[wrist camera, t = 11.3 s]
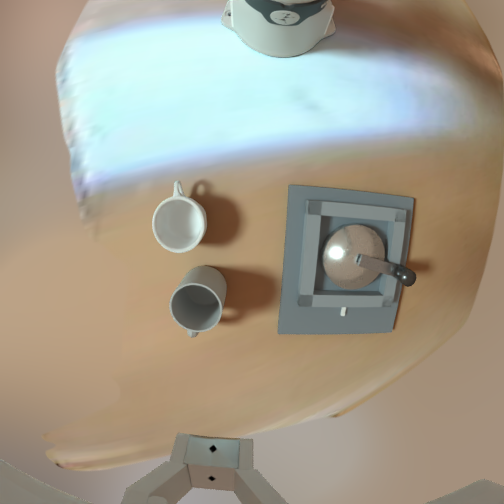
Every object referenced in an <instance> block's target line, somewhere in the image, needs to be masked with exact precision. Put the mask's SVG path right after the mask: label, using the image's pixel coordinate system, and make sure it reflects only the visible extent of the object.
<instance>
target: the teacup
mask: <svg viewBox="0 0 504 504" xmlns="http://www.w3.org/2000/svg"><path fill="white" fill-rule="evenodd" d="M152 227H153V232H154V235H155V237H156V239H157V241H158V242H159V243H160V244H161V245H162V246H163V247H164V248H165V249H167V250H169V251H172V252H176V253H183V252H187V251H189V250H191V249H193V248H194V247H195V246H197V245H198V244H199V242H200V241H201V240H202V238H203V237H204V235H205V232H206V229H207V218H206V212H205V210H204V208H203V207H202V206H201V205H200V204H198V203H197V202H196V201H195V200H194V199H192V198H189V197H186V196H185V195H184V193H183V190H182V186H181V182H180V181H175V184H174V195H173V197H170V198H167V199H166V200H164V201H163V202H161V203H160V204H159V206H158V207H157V208H156V210H155V212H154V215H153V220H152Z"/></svg>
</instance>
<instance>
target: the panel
mask: <svg viewBox="0 0 504 504" xmlns="http://www.w3.org/2000/svg"><path fill="white" fill-rule="evenodd" d="M413 202H414V198H409V197H402V196H395V195H387V194H379V193H371V192H363V191H354V190H344V189H334V188H323V187H312V186H299V185H289V189H288V206H287V221H286V236H285V250H284V263H283V275H282V288H281V299H280V310H279V321H278V334H364V333H387V332H392V329H393V325H394V320H395V316H396V312H397V307H398V303H399V298H400V293H401V288H402V283H401V282H400V281H398V280H397V279H395V278H394V277H393V276H390V275H386V274H383V273H379V274H378V276H377V277H376V278H375V279H374V280H373V281H372V282H371V283H370V284H368V285H367V286H365V287H362V288H359V289H344V288H341V287H339V286H337V285H336V284H334V283H333V282H332V281H331V280H330V278H329V277H328V276H327V275H326V273H325V271H324V269H323V267H322V263H321V250H322V246H323V244H324V242H325V240H326V238H327V237H328V235H329V234H330V233H331V232H332V231H333V230H334V229H336V228H338V227H339V226H341V225H344V224H349V223H356V224H361V225H363V226H366V227H368V228H370V229H372V230H373V231H375V232H376V233H377V234H378V236H379V237H380V239H381V241H382V243H383V246H384V251H385V258H384V261H386V262H389V263H392V264H395V265H397V264H401V265H403V266H406V259H407V253H408V246H409V239H410V231H411V222H412V213H413Z"/></svg>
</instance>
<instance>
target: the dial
mask: <svg viewBox="0 0 504 504" xmlns="http://www.w3.org/2000/svg"><path fill="white" fill-rule="evenodd" d="M384 258H385V251H384V246H383V243H382V241H381V239H380V237H379V236H378V234H377V233H376V232H375V231H373V230H372V229H370V228H368V227H366V226H363V225H361V224H356V223H349V224H344V225H341V226H339V227H338V228H336V229H334V230H333V231H332V232H331V233H330V234H329V235H328V237H327V238H326V240H325V242H324V244H323V246H322V250H321V263H322V267H323V269H324V271H325V273H326V275H327V276H328V277H329V278H330V280H331V281H332V282H333V283H334V284H336V285H337V286H339V287H341V288H344V289H359V288H362V287H365V286H367V285H368V284H370V283H371V282H372V281H373V280H374V279H375V278H376V277H377V276H378V274H379V273H383V274H386V275H390V276H393V277H394V278H395V279H397V280H398V281H400V282H401V283H402V284H404V285H405V286H407V287H409V286H412V285H413V284H414V283H415V281H416V274H415V273H414V272H413V271H411V270H410V269H408V268H406V267H405V266H403V265H401V264H397V265H395V264H392V263H389V262H386V261H384Z"/></svg>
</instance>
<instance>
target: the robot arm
mask: <svg viewBox="0 0 504 504" xmlns="http://www.w3.org/2000/svg"><path fill="white" fill-rule="evenodd" d="M333 12H334V6H333V5H332V2H331V0H228V2H227V5H226V7H225V10H224V12H223V15H222V17H221V23H222V25H223V26H225V27H226V28H228V29H230V30H232V31H234V32H235V33H236V34H237V35H238V36H239V38H240V39H241V40H242V41H243V42H244V43H245V44H246V45H247V46H248V47H250V48H251V49H253V50H255V51H257V52H259V53H262V54H265V55H269V56H274V57H291V56H296V55H300V54H303V53H305V52H307V51H309V50H310V49H311V48H313V47H314V46H315V45H316V44H317V43H318V42H319V41H320V40H321V39H322V38H325V37H328V36H330V35H332V34H334V32H335V29H336V27H335V24H334V20H333V17H332V15H333ZM229 14H231V16H228V15H229ZM239 445H240V447H239ZM192 487H195V488H205V489H216V490H227V491H234V493H235V494H236V496H237V497H238V499H239V500H240V501H241V503H242V504H288V503H287V502H286V501H285V500H284V499H283V498H282V497H281V496H280V495H279V493H278V492H277V491H276V490H275V489H274V488H273V487H272V486H271V485H270V484H269V483H268V482H267V480H266V479H265V478H264V477H263V476H262V475H261V474H260V472H259V471H258V470H256V469H253V439H240V438H223V437H207V436H199V435H192V434H184V433H178V434H177V436H176V439H175V443H174V446H173V450H172V454H171V457H170V461H169V462H168V461H165V462H164V463H163V464H161V465H160V466H158V467H157V468H156V469H154V470H153V471H151V472H150V473H148V474H147V475H146V476H144V477H143V478H141V479H140V480H138V481H137V482H135V483H134V484H132V485H131V486H130V487H128V488H126V491H125V494H124V497H123V499H122V502H121V504H176V503H177V502H178V501H179V500H180V499H181V498H182V497H183V496H184V495H186V493H188V491H190V490H191V488H192ZM0 504H93V503H90V502H88V501H85V500H82V499H80V498H77V497H75V496H72V495H70V494H67V493H65V492H62V491H60V490H58V489H56V488H54V487H51V486H49V485H47V484H45V483H43V482H41V481H39V480H37V479H35V478H33V477H31V476H29V475H28V474H26V473H24V472H22V471H20V470H18V469H17V468H15V467H13V466H11V465H10V464H8V463H6V462H5V461H3V460H2V459H0ZM425 504H504V486H502V485H500V484H497V483H494V482H492V481H489V480H485V479H482V480H479V481H476V482H474V483H472V484H470V485H468V486H466V487H463V488H461V489H459V490H457V491H455V492H453V493H450V494H448V495H445V496H443V497H440V498H438V499H435V500H433V501H430V502H427V503H425Z"/></svg>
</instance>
